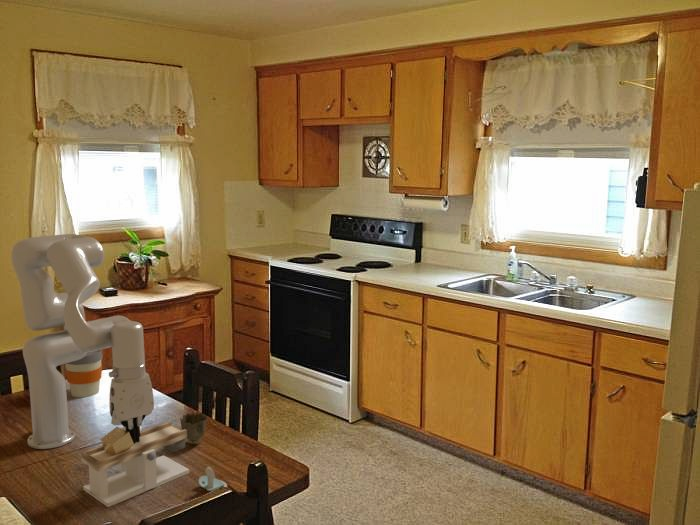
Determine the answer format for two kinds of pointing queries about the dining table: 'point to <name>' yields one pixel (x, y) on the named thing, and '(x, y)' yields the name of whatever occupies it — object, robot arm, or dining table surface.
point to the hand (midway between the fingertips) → (133, 441)
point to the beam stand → (133, 478)
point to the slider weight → (117, 441)
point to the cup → (194, 427)
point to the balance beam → (138, 447)
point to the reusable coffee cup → (85, 374)
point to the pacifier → (210, 481)
